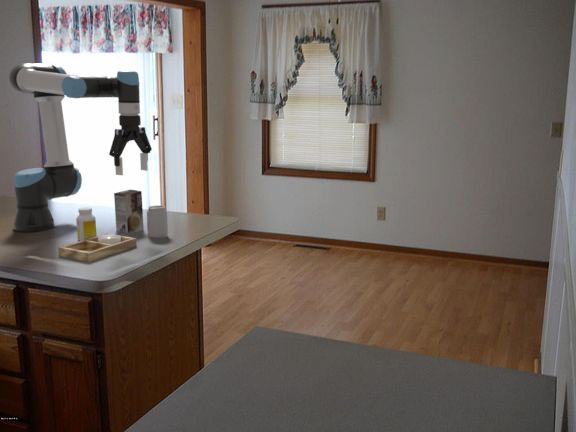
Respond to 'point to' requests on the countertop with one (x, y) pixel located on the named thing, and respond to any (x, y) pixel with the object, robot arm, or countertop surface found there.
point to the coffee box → (129, 211)
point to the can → (157, 221)
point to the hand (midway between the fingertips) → (132, 172)
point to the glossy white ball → (109, 239)
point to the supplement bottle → (86, 224)
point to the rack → (95, 248)
